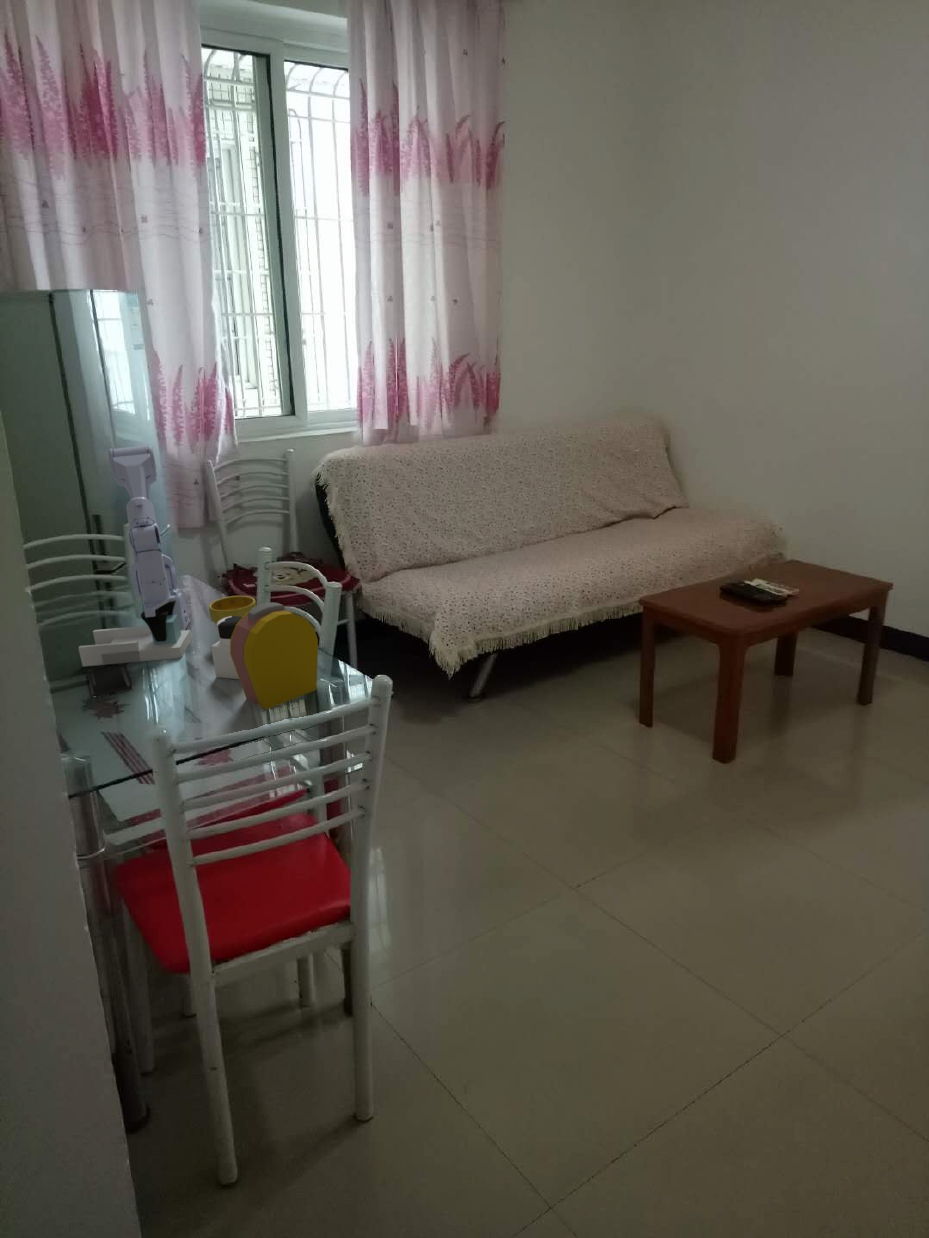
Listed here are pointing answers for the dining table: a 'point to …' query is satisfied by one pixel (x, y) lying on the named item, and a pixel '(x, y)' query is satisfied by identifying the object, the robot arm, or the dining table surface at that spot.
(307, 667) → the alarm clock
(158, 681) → the dining table surface
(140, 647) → the grey channel
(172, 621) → the teal block
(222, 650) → the medicine bottle
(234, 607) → the plant pot
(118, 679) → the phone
